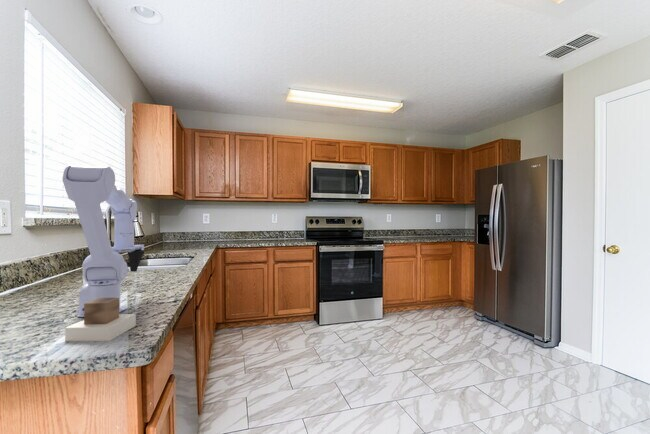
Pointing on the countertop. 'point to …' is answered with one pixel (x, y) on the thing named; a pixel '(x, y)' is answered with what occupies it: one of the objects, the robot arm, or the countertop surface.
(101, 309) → the walnut cube
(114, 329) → the cream plinth
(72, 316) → the countertop surface
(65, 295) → the countertop surface
